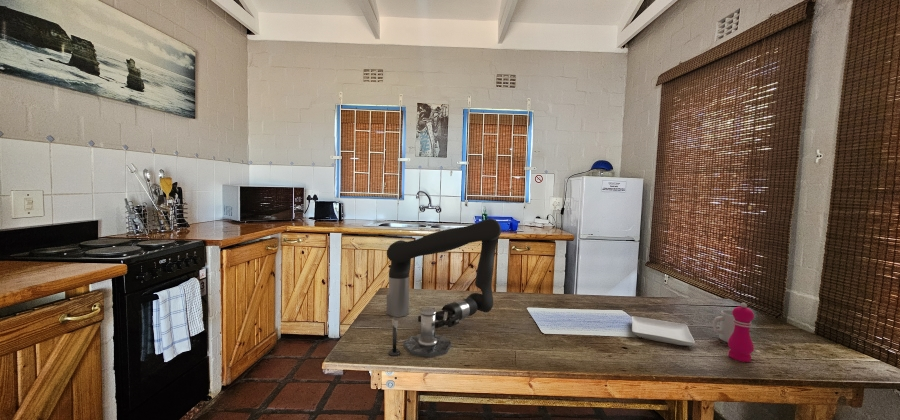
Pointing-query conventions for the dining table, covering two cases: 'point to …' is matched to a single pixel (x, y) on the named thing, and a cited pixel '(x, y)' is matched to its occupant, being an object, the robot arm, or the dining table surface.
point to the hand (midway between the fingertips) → (426, 322)
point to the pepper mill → (741, 334)
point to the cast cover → (427, 327)
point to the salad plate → (662, 331)
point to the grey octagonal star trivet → (428, 352)
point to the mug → (724, 325)
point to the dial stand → (395, 339)
